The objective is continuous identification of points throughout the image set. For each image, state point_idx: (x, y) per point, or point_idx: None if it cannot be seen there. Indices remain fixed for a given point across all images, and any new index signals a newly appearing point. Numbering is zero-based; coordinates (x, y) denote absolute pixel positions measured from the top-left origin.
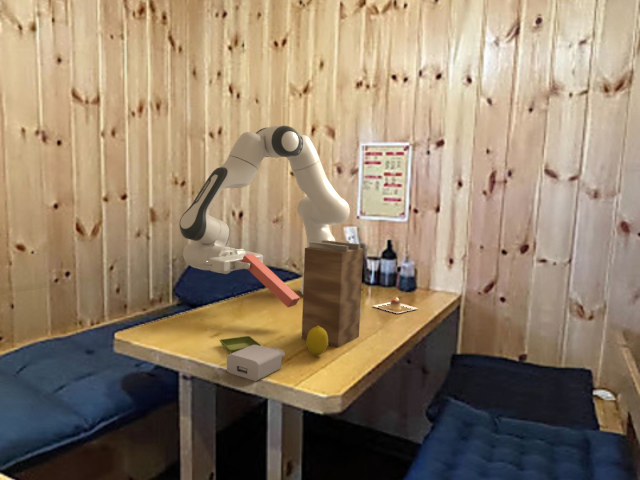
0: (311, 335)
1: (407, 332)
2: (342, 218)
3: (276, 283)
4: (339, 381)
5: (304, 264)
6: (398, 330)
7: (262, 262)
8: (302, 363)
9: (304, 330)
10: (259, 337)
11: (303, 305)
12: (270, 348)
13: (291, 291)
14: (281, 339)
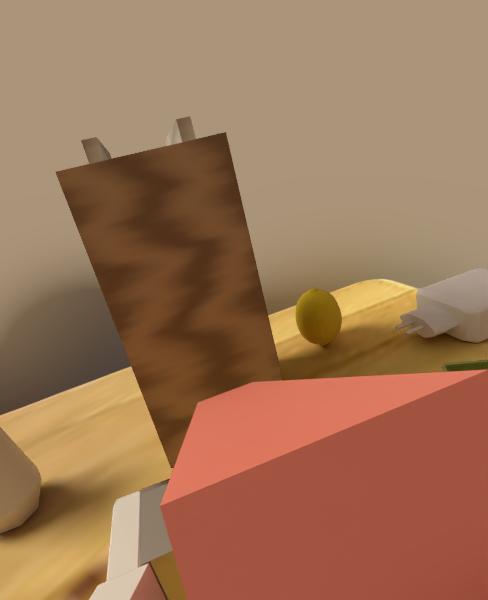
0: (334, 298)
1: (63, 396)
2: None
3: (260, 385)
4: (344, 294)
5: (240, 196)
6: (58, 408)
7: (132, 498)
8: (368, 329)
9: None
10: None
11: (270, 330)
12: (436, 292)
13: (209, 400)
14: None
